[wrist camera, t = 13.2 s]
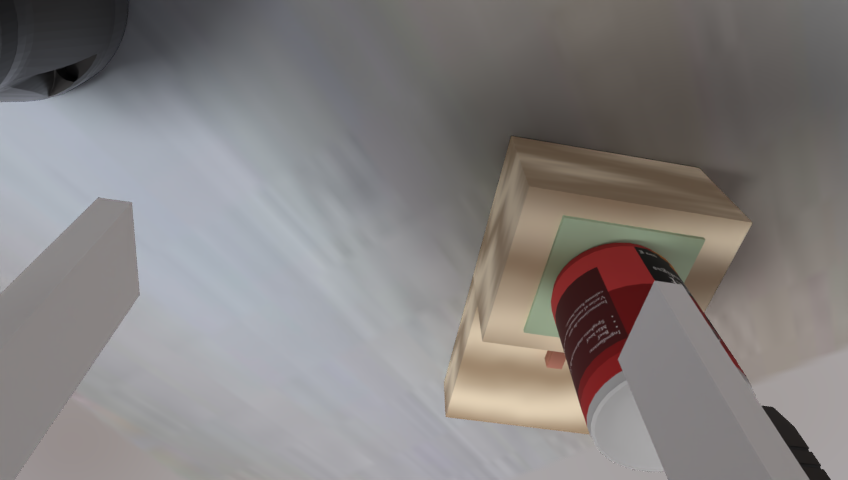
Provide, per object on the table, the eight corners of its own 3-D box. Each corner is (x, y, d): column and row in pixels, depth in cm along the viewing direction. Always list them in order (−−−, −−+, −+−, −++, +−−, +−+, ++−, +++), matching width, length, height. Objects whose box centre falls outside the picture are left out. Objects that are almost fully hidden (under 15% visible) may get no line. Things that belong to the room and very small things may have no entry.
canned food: (681, 316, 39) (764, 453, 30) (562, 348, 40) (606, 488, 31) (664, 221, 35) (753, 342, 26) (534, 259, 37) (574, 388, 27)
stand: (591, 401, 55) (617, 478, 48) (444, 382, 53) (447, 459, 46) (699, 167, 43) (755, 225, 36) (511, 135, 41) (530, 188, 34)
